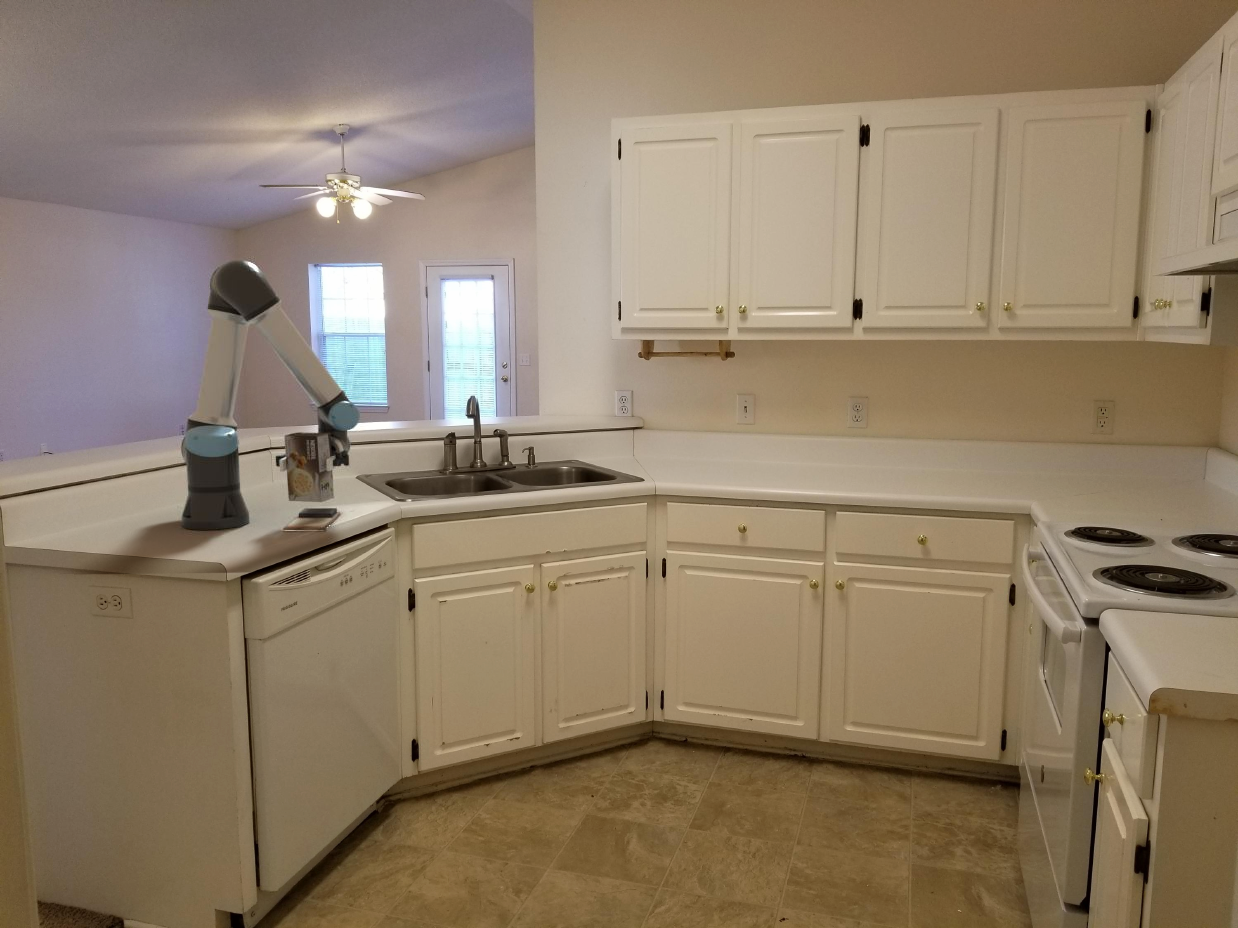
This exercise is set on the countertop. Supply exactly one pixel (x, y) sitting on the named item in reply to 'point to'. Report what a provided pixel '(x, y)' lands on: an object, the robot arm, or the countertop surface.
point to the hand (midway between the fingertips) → (304, 465)
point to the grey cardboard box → (308, 467)
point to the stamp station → (313, 519)
